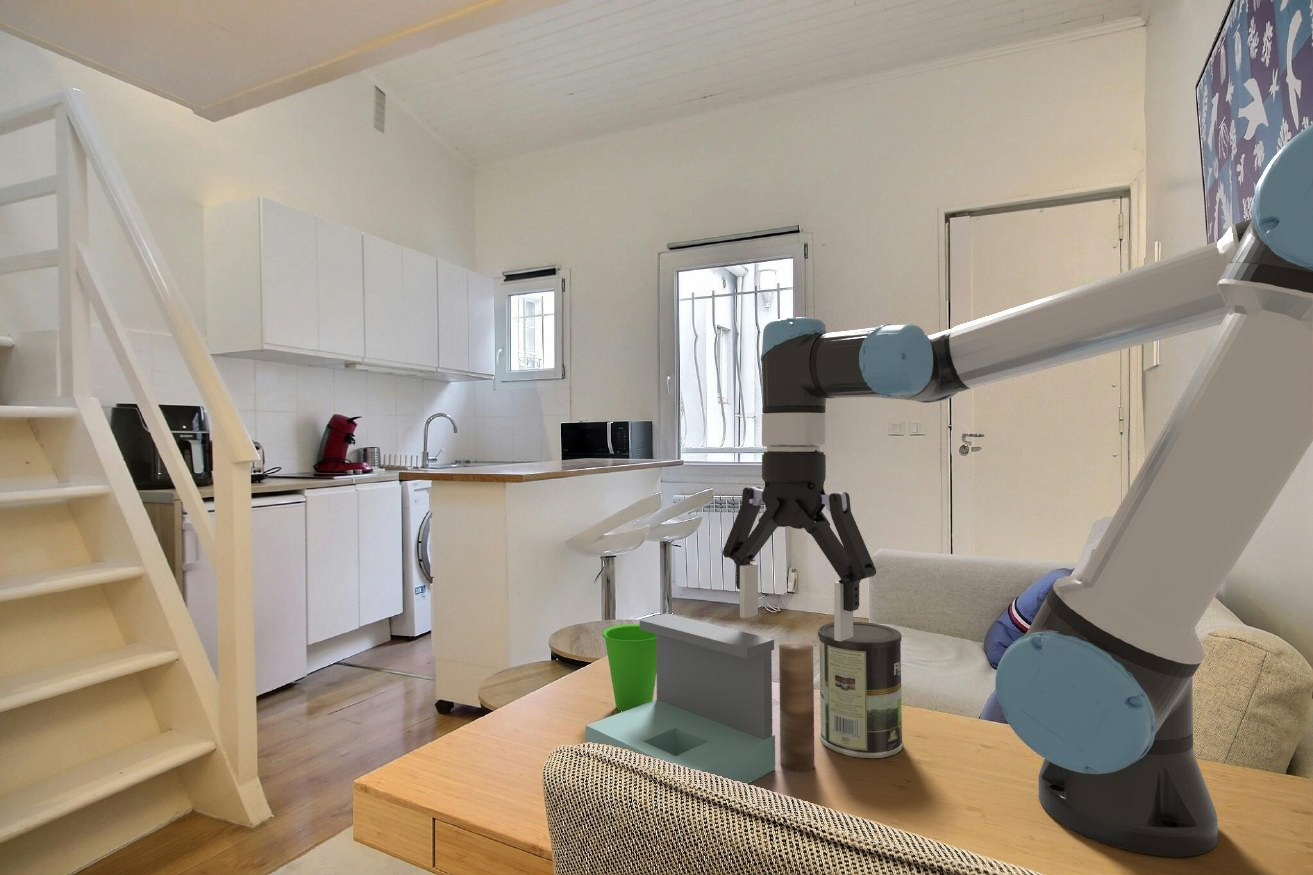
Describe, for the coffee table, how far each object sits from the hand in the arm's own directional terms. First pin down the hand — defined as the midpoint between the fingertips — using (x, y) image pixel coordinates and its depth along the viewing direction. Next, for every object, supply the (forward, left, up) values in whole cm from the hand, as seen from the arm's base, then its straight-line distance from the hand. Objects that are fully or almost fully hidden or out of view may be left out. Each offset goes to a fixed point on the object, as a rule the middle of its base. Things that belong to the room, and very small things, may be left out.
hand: (793, 626), depth 83 cm
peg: (0, 0, -16) cm, 16 cm away
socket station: (+10, +10, -16) cm, 21 cm away
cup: (+27, +2, -16) cm, 31 cm away
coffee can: (-2, -11, -17) cm, 20 cm away
